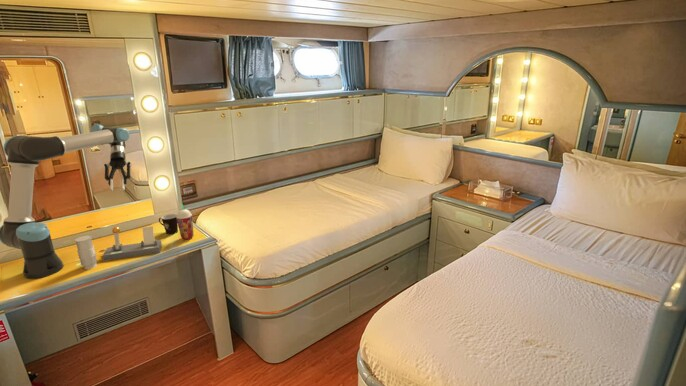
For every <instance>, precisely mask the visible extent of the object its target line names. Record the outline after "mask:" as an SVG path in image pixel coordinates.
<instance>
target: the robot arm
mask: <svg viewBox="0 0 686 386" xmlns="http://www.w3.org/2000/svg"><path fill="white" fill-rule="evenodd" d="M129 139H130V132H129V130H128V129H127V128H124V127H112V126H111V127H108V126H104V125H103V124H100V123H95V124H93V125H92V126H91V128H90V131H88V132H83V133H80V134H79V133H78V134H74V135H73V134H72V135H66V136H61V137H59V136H58V135H56V136H55V135H54V136H43V137H42V136H30V135H15V136H11V137H9V138H7V140H6V141H5V142H4V144H3V152H4V154H5V155H6V156H7V163H8V165H9V166H10V169H11V170H10V184H9V185H10V186H9V197H8V199H9V200H8V213H7V214H8V215H7V217H6V218H4V219H3V221H2V222H3V224H2V225H1V226H0V242H1V243H2V244H3V245H6V247H11V248H14V249H18V250H21V252H22V257H23V259H24V261H23V268H22V273H23V277H24V278H26V279H40V278H45V277H48V276H51V275H53V274H56V273H58V272H59V271H61V270H62V269H63V268H64V263H63V261H62V260H61V258H60V257H59V256H58V255H57V253H56V251H55V248H54V244H53V240H52V236H51V232H50V229H49V227H48V225H47V224H46V223H44V222H36V219H35V218H33V217H32V216H33V215H32V210H33V197H34V184H35V182H34V181H35V171H36V170H35V169H36V168H37V167H39V166H40V162H41V161H46V160H50V159H55V158H57V157H62V156H64V155H65V154H66V153H70V152H75V151H81V150H85V149H90V148H94V147H98V146H104V145H107V144H108V145H110V156H109V157H110V158H109V160H110V161H109V162H108V163H107V164H106V163H104V164H103V165H104V179H105V180H106V181H107V182H108V183H107V184H108V185H109V187H110V191H111V192H114V180H113V179H114V176H115V173H116V172H117V170H120V171H121V174H122V177H121V189H122V191H125V189H126V187H125V186H126V185H127V183H128V182H127V181H128V179H131V167H132V162H130V161H128V162H127V161H126V144H125V141H126V142H127V141H129ZM125 166H126V172H125V168H124V167H125ZM110 167H111V170H110Z"/></svg>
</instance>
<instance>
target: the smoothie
mask: <svg viewBox="0 0 686 386" xmlns="http://www.w3.org/2000/svg"><path fill="white" fill-rule="evenodd" d="M181 208H182V209H180V210H179V211H178V212H177V213H176V214H177V216H176V218H177V223H178V232H179V235H180V238H181V239H182V240H183V241H187V240H190V238H191V239H193V238H194V224H193V223H194V222H193V214H192V212H191V211H190V210H189V209H187V208H185V207H184V204H182V205H181ZM192 237H193V238H192Z"/></svg>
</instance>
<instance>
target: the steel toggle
mask: <svg viewBox="0 0 686 386" xmlns="http://www.w3.org/2000/svg"><path fill="white" fill-rule="evenodd" d="M120 231H121V228H120V227H118V226H114V227H113V228H112V229H111V232H112V234H113V236H114V245H115V247H116V249H118V248H119V245H120V244H121V243H120V235H119V233H120Z"/></svg>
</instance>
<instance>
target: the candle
mask: <svg viewBox="0 0 686 386" xmlns="http://www.w3.org/2000/svg"><path fill="white" fill-rule="evenodd" d="M92 240H93V239H92V235H83V236H79V237H77V238H75V239H74V242H75V244H76V245H75V246H76V247H77V256H78V259H79V260H80V265H81V266H82V269H83V270H90V269H93V268H96V267H97V266H98V264H97V262H98V259H97V256H96V255H97V253H96V249H95V246H94V244H93V241H92Z"/></svg>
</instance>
